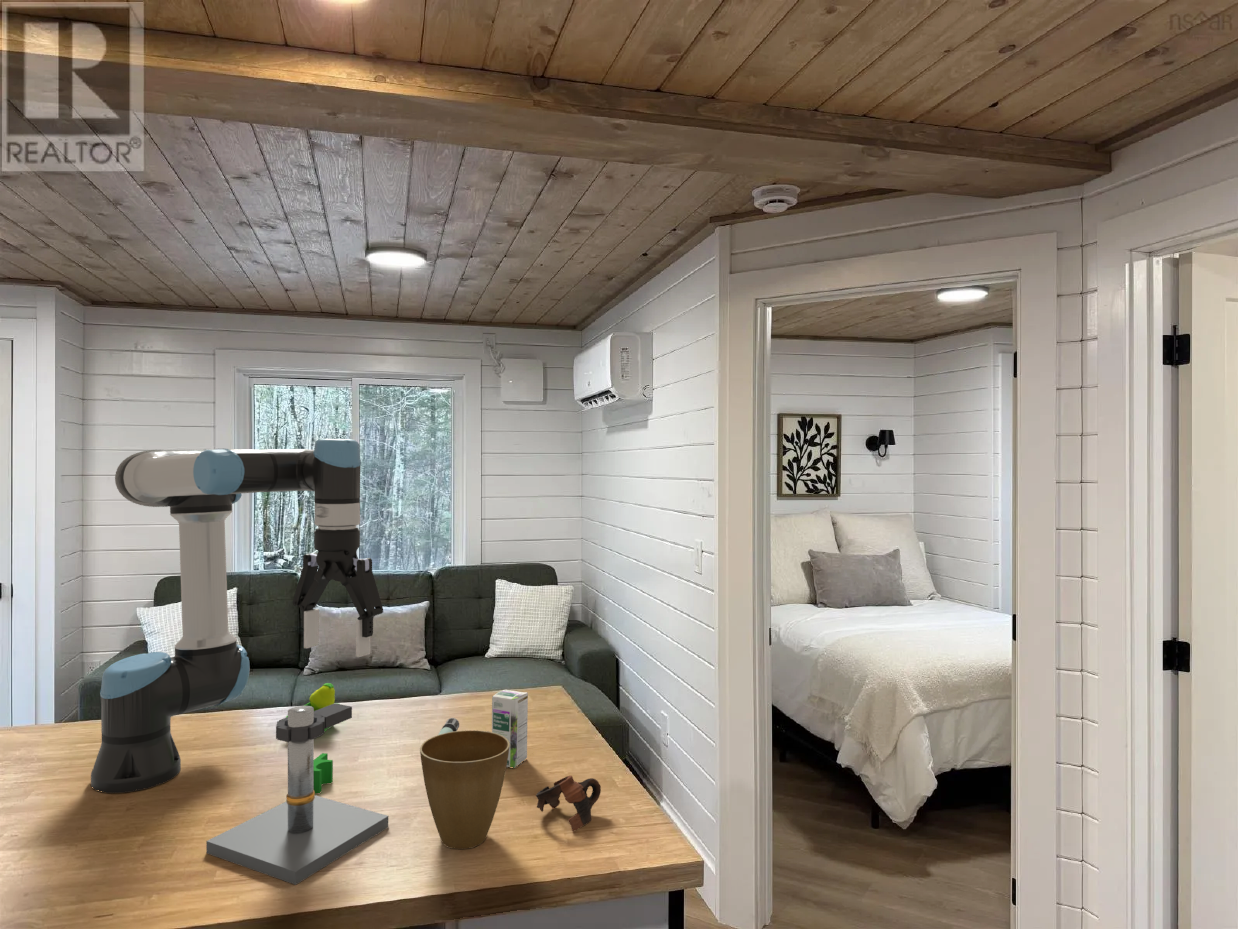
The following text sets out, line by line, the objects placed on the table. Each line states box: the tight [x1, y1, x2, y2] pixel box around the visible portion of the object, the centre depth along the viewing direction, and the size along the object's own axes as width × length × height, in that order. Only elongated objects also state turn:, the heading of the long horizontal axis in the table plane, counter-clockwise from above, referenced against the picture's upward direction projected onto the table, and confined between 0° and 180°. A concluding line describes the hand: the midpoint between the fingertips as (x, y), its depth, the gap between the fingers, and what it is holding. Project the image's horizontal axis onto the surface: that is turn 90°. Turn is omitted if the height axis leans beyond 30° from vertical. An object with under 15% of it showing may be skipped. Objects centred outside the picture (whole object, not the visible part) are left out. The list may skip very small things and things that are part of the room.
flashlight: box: [437, 717, 460, 735], centre depth 173 cm, size 3×4×20 cm
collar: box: [275, 702, 353, 743], centre depth 134 cm, size 7×13×2 cm, turn 154°
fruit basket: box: [285, 682, 340, 732], centre depth 181 cm, size 11×9×11 cm
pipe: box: [285, 705, 316, 834], centre depth 132 cm, size 4×4×20 cm
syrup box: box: [491, 689, 529, 769], centre depth 165 cm, size 6×6×14 cm
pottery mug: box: [535, 775, 602, 832], centre depth 142 cm, size 12×10×8 cm
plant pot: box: [419, 729, 510, 850], centre depth 133 cm, size 15×15×16 cm
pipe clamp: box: [313, 752, 334, 794], centre depth 152 cm, size 11×4×5 cm, turn 173°
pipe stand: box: [205, 794, 389, 885], centre depth 132 cm, size 20×20×2 cm
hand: (336, 650), depth 138 cm, fingers open, 11 cm apart
